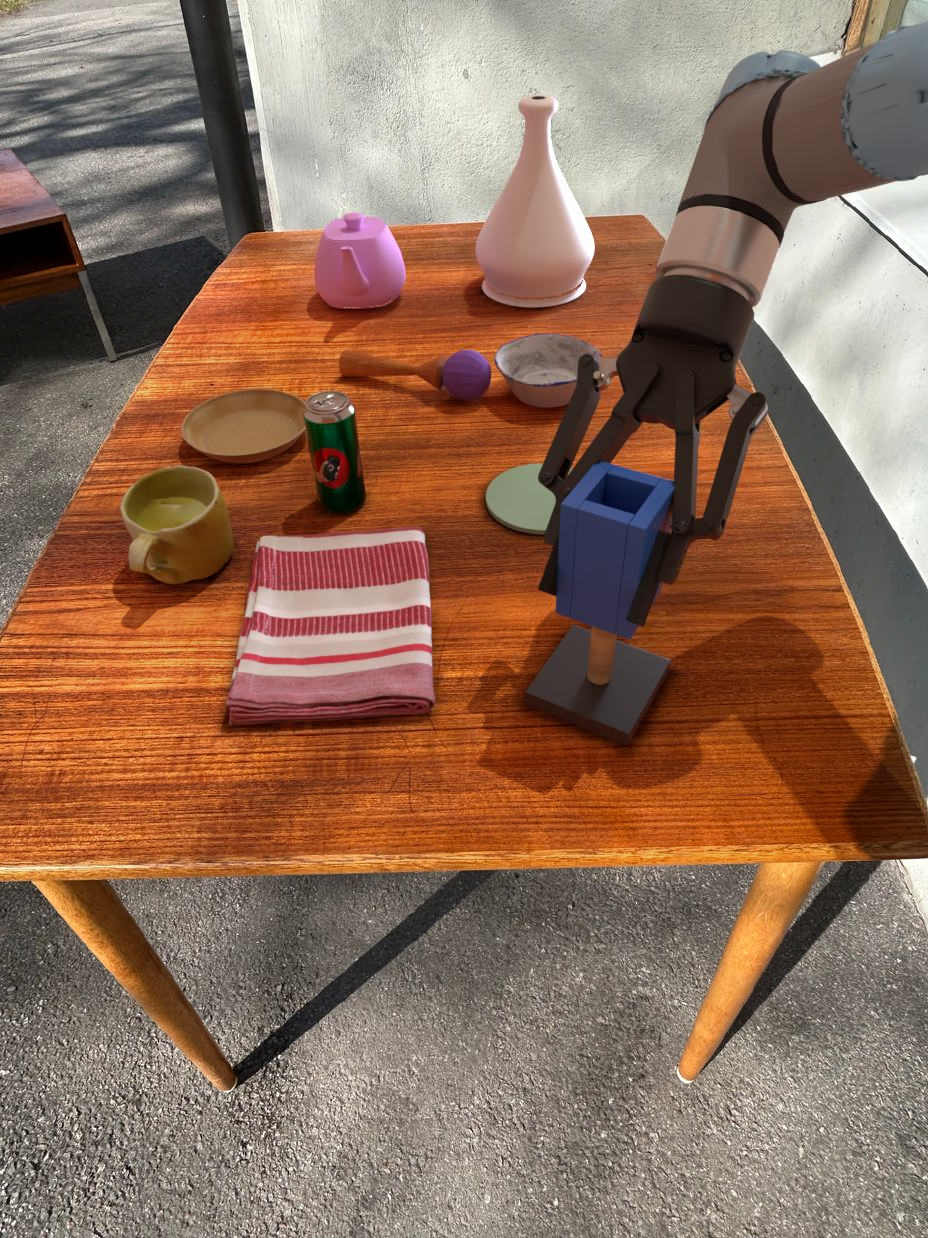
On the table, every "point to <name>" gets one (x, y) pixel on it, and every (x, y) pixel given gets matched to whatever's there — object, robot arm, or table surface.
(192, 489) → the mug
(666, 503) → the sleeve
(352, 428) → the soda can
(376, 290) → the teapot
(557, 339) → the bowl
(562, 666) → the dowel stand
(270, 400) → the plant saucer
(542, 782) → the table surface
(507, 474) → the coaster
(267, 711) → the dish towel
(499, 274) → the vase
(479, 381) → the purple maraca
